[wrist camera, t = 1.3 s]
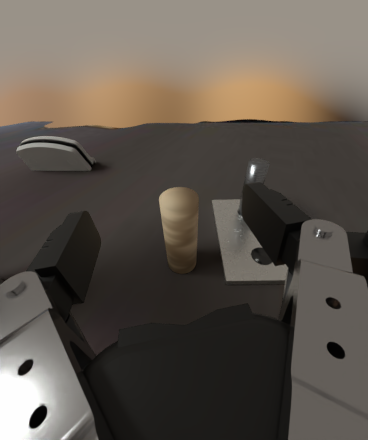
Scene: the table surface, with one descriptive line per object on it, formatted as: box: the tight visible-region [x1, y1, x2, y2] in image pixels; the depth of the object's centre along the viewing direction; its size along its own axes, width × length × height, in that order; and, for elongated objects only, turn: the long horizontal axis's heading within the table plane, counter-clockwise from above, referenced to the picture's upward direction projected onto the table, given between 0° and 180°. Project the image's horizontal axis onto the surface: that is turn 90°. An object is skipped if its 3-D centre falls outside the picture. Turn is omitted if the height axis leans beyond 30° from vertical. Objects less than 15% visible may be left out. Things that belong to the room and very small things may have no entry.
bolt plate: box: [212, 158, 288, 285], centre depth 29 cm, size 12×18×11 cm, turn 0°
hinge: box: [16, 136, 96, 171], centre depth 50 cm, size 17×5×10 cm, turn 87°
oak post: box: [159, 187, 199, 274], centre depth 25 cm, size 4×4×12 cm
